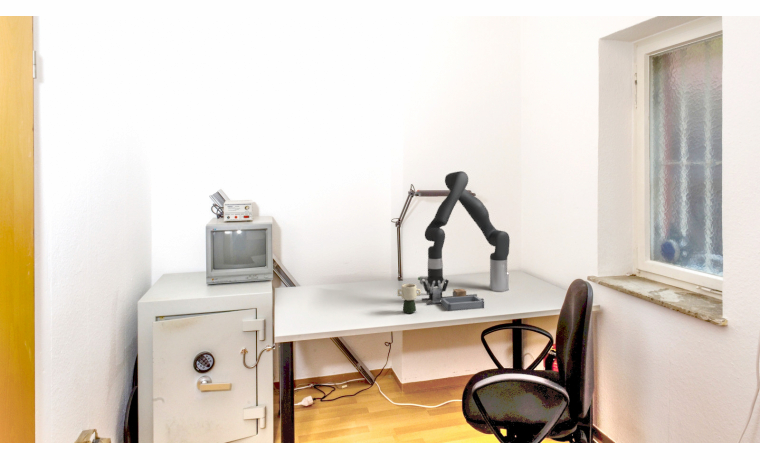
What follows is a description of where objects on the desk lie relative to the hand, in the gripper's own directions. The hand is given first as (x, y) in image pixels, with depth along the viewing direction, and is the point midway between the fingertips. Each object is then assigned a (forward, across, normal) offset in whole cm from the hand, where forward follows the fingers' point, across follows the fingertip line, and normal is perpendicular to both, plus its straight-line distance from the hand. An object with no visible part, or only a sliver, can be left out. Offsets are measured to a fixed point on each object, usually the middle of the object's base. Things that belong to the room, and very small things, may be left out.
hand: (435, 299), depth 215 cm
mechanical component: (+2, 0, -14) cm, 14 cm away
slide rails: (+1, -9, 0) cm, 9 cm away
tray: (+1, -10, +11) cm, 15 cm away
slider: (+1, -13, 0) cm, 13 cm away
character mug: (+2, +17, +12) cm, 21 cm away
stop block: (+1, 0, 0) cm, 1 cm away
